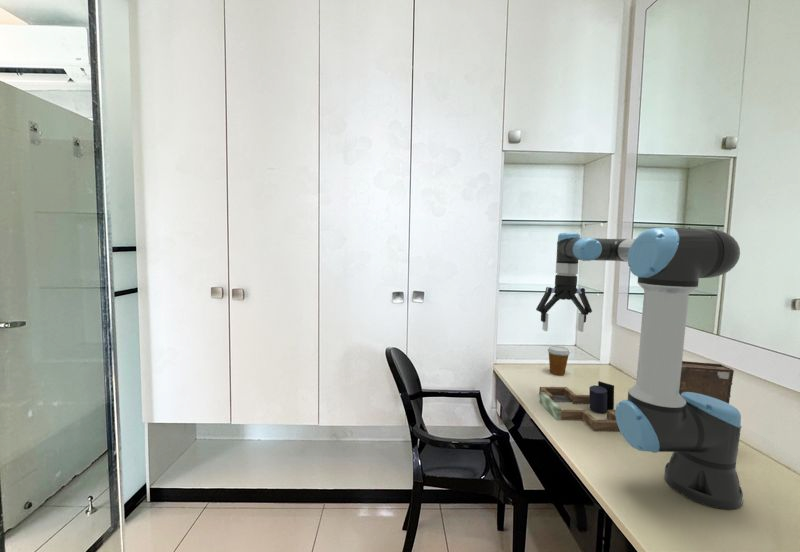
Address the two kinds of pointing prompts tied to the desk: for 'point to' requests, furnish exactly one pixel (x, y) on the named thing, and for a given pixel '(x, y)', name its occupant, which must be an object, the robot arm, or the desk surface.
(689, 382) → the book
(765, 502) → the desk surface
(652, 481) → the desk surface
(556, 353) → the disposable coffee cup
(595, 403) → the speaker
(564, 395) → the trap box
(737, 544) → the desk surface
